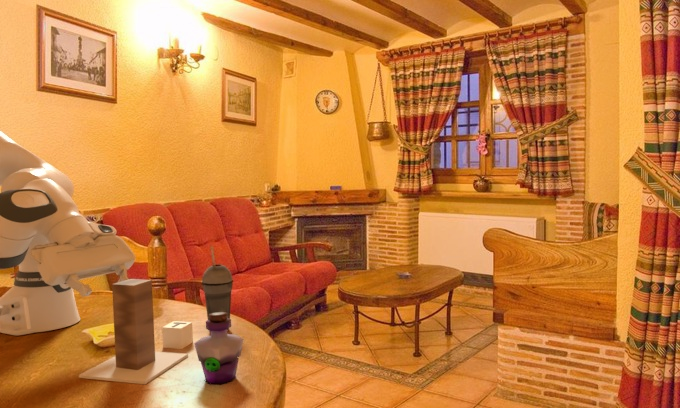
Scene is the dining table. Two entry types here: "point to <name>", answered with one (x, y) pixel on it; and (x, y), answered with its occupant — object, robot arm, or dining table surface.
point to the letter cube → (177, 334)
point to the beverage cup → (217, 288)
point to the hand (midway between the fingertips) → (107, 289)
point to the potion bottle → (219, 350)
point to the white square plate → (140, 376)
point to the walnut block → (133, 323)
